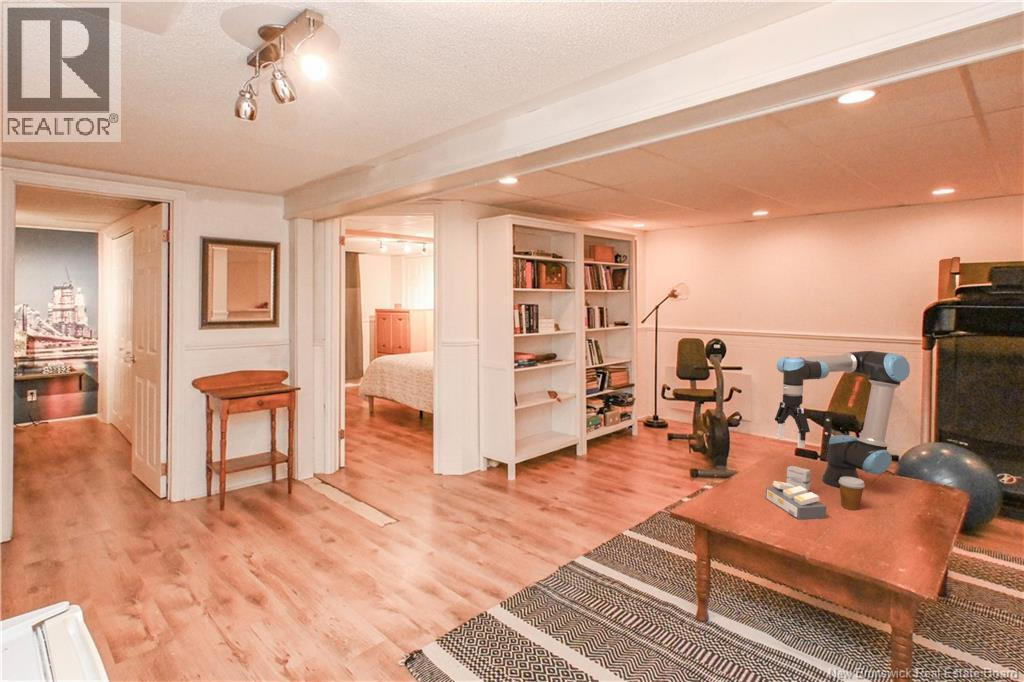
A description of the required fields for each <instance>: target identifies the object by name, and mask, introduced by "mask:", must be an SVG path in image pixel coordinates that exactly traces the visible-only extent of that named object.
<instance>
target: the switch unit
mask: <svg viewBox="0 0 1024 682" xmlns="http://www.w3.org/2000/svg"><path fill="white" fill-rule="evenodd" d="M765 488H766V489H765V499H766V500H767V501H769V502H771V504H773V505H775V506H776V507H779V508H780V509H782V510H783V511H784V512H786V513H787V514H789V515H790V516H792V517H794V518H795V519H796V520H799V521H802V520H817V519H819V520H820V519H826V518H827V505H825V504H823V503H822V502H820V501H816V502H813V503H809V504H806V505H802V506H801V505H800V504H798V503H796V502H795V501H794V498H792V499H790V498H788V497H786V496H785V495H784V494H783V489H779V488H777V487H775V486H771V487H765Z"/></svg>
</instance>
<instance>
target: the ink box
mask: <svg viewBox="0 0 1024 682" xmlns="http://www.w3.org/2000/svg"><path fill="white" fill-rule="evenodd" d="M786 468H787V470H786V482H785V483H790V484H792V485H794V486H795V487H797V486H801V487H803V488H805V489H807V492H808V493H809V492H811V491H810V490H811V477H812V475H811V474H812V473H811V471H812V470H811V469H808V468H803V467H799V466H796V465H790V466H787V467H786Z"/></svg>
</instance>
